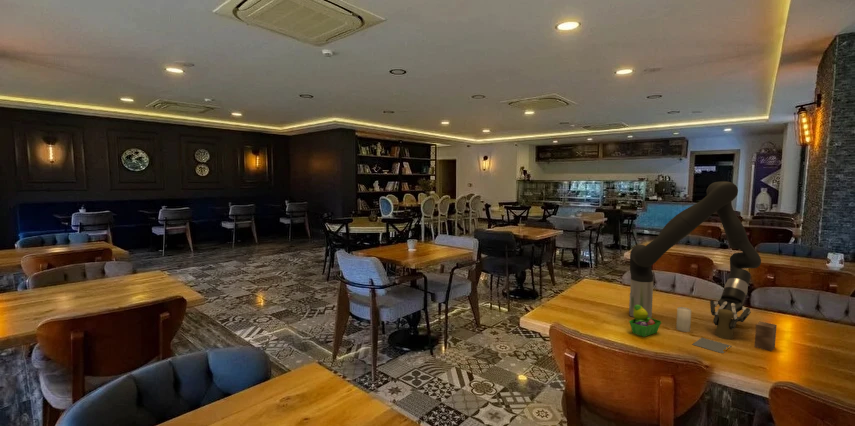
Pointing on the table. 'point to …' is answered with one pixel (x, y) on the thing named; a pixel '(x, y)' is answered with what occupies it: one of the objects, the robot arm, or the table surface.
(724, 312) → the cork
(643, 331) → the fruit basket
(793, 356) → the table surface
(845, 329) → the table surface
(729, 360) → the table surface
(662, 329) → the table surface
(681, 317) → the cream block
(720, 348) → the grey flat sheet
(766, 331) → the walnut block
